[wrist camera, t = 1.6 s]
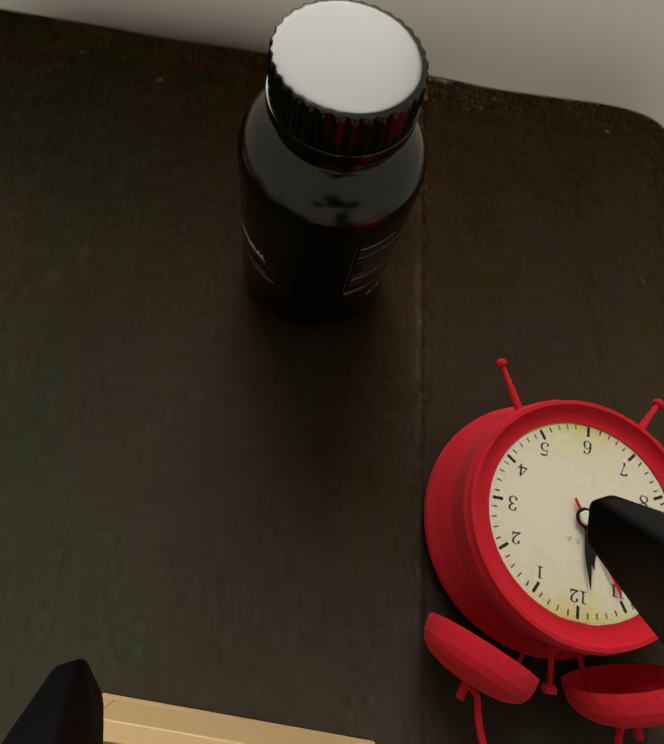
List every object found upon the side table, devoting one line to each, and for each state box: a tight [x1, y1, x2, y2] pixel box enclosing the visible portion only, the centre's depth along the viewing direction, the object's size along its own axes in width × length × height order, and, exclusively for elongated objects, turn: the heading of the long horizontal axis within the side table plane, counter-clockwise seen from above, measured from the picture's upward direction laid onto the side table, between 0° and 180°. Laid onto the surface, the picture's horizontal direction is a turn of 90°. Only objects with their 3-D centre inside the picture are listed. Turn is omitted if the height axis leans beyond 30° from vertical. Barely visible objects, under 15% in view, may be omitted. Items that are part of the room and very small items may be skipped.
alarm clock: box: [424, 358, 664, 744], centre depth 21 cm, size 10×6×15 cm
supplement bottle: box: [238, 0, 429, 324], centre depth 21 cm, size 7×7×12 cm
